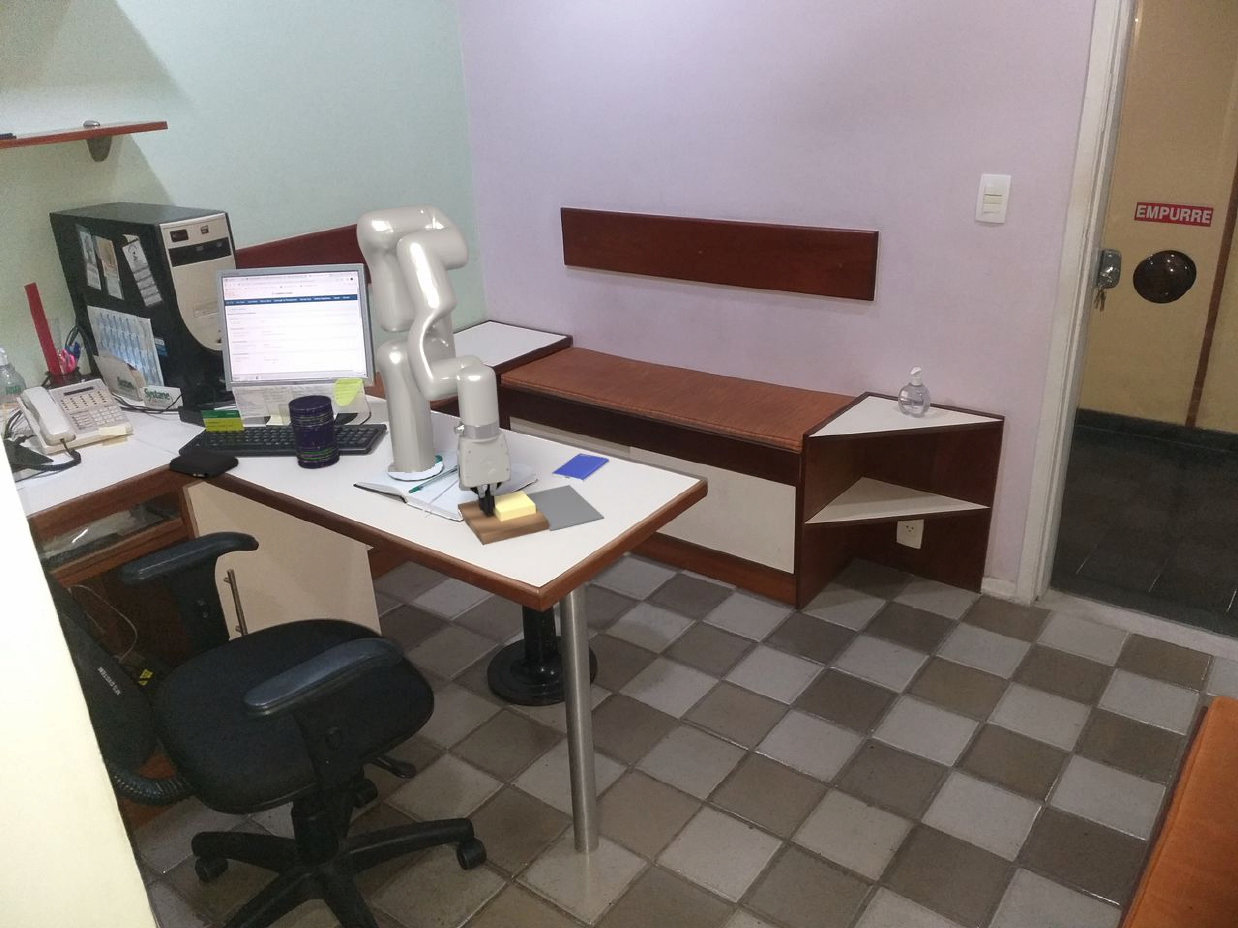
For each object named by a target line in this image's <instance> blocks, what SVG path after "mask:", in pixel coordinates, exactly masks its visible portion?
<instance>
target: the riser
mask: <svg viewBox="0 0 1238 928" xmlns="http://www.w3.org/2000/svg"><path fill="white" fill-rule="evenodd" d="M508 493H509V492H507V493H506V494H508ZM511 493H513V491H512V492H511ZM504 494H505V493H503V494H502V495H504ZM500 495H501V494H500ZM500 495H497V496H500ZM495 496H496V495H494V497H495ZM458 509H459V510H460V512H461V514H462V517H463V518H462V517H461V518H462V520H463V521H464V522H465V524H467V526H468V528H469V529H470V530H471V531H472V533H473V534H474V535H475V536H476V538H477V539H478V540H479V542H480V543H481V544H482V545H488V544H492V543H497V542H501V541H504V540H505V541H506V540H508V539H509V540H510V539H514V538H519V537H521V536H526V535H527V536H528V535H530V534H534V533H539V532H543V531H547V530H549V526H548V520H547V519H546V518H545V517H544V516H543V514H542V513H541V512H540V511H539V510H538V509H537V508H536V513H534V514H530V515H526V516H522V517H517V518H513V519H509V520H505V521H500V520H499V518H498V517H497V516H496V515H495V514H494V513H492V514H490V513H489V514H488V515H485V513H484V512H483V511H482V510H480V509H479V503H478V499H476V500H472V501H468V502H467V501H466V502H463V503H458V504H457V510H458Z"/></svg>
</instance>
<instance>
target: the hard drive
mask: <svg viewBox="0 0 1238 928" xmlns="http://www.w3.org/2000/svg"><path fill="white" fill-rule="evenodd" d="M609 463H610V459H609V458H607V457H601V456H597V455H596V456H595V455H590V454H585V453H578V454H576V455H575V456H573V457H572V458H571V459H569V460H567V462H565V463H564V464H562V465H561V466H560V467H558V468H557V469H556V470H554V471H552V472H551V477H554V478H559V479H564V480H569V481H574V482H579V483H582V484H583V483H584V482H586V480H588V479H590V478H591V477H592V476H594V475H595V474H596V473H597V472H599V471H600V470H602V469H603V468H604V467H605V466H606V465H608V464H609Z"/></svg>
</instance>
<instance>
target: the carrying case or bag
mask: <svg viewBox="0 0 1238 928" xmlns="http://www.w3.org/2000/svg"><path fill="white" fill-rule="evenodd" d="M239 462H240V461H239V459H238V458H237V457H236V456H234V455H231V454H227V453H224V452H223V453H222V452H216V451H211V450H207V449H202V448H201V449H200V448H196V449H192V450H190V451H187V452H184V453H183V454H181V455H178V456H176V457H174V458H172V460H170V462H169V463H168V468H169V469H170V470H171V471H175V472H178V473H183V474H187V475H192V476H193V477H195V478H196V477H197V478H198V477H202V478H207V479H214V478H217V477H219V476H220V475H222V474H225V473H227V472H229V471H231V470H233V469H235V468H236V467H237V466H238V464H239Z"/></svg>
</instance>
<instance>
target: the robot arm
mask: <svg viewBox="0 0 1238 928" xmlns="http://www.w3.org/2000/svg"><path fill="white" fill-rule="evenodd" d="M357 221H358V222H357V224H356V238H357V242H358V243H357V244H358V246H359V249H360V251H361V253H362V255H363V258H364V260H365V262H366V265H367V266H368V269H369V274H370V280H371V281H370V282H371V287H372V293H373V300H374V307H375V313H376V318H377V321H378V322H377V323H378V324H379V327H380V328H381V330H382V331H384V332H385V333H388V334H389V333H390V334H397V333H399V334H400V333H405V332H408V335H407V336H403V337H397V338H394V339H390V340H387V341H385V342H384V343H382V344H381V345H380V346H379V347H378V348H377V351H376V364H377V368H378V371H379V374H380V377H381V381H382V385H383V389H384V395H385V403H386V410H387V417H388V418H387V419H388V425H389V427H388V428H389V433H390V434H389V435H390V440H391V441H390V443H391V448H392V449H391V450H392V451H391V452H392V457H393V462H391V463H390V464H389V465H388V467H387V473H388V472H405V473H413V472H423V471H426V470H428V469H431V468H432V467H434V466H435V464H436V458H437V457H436V450H435V449H436V448H435V439H434V432H433V421H432V411H431V403H430V402H431V401H440V400H445V399H449V398H452V397H457V398H458V410H459V424H458V425H457V426H454V427H453V432H454V434H455V435H457V434H459V436H458V440H457V452H456V468H457V469H456V470H457V476H458V480H459V481H458V488H459V490H460V491H462V492H469V491H470V492H472V493H474V494H475V495H477V500H478V503H479V509H480V510H482V511H483V512H484V513H485V515H488V514H489V513H490V514H492V513H493V507H495V498H494V496H496V494H497V491H498V490H499V488H500V487H501V486H502V485H504V484H506V483H509V482H511V480H512V477H511V476H512V464H511V457H510V452H509V446H508V443H507V438H506V434H505V431H503V430H502V429H500V415H499V403H498V401H499V400H498V391H497V389H498V387H497V377H496V375H497V374H496V373H495V372H496V371H494V369H493V368H492V367H491V366H488V365H486V364H484V362H483V361H482V360H481V359H480V358H479V357H478V356H477V355H474V354H464V355H461V356H456V355H457V354H456V344H455V336H454V329H453V322H452V319H453V318H452V312H453V311H454V310H455V309H456V307H457V305H458V301H457V297H456V295H455V292H454V289H453V286H452V284H451V283H452V282H451V280H450V277H449V274H448V271H454V270H459V269H462V268H464V267H466V266H467V265H468V262H469V259H470V250H469V245H468V242H467V239H466V238H465V236H464V234H463V232H462V231H461V229H460V228H459V227H458V226H457V225H456V223H455V222H454V221H452V219H450V218H449V217H448V216H447V215H446V214H445V213H444V211H442V210H441V209H440V208H439V207H437V206H435V205H431V204H418V205H409V206H402V207H401V206H400V207H390V208H382V209H378V210H373V211H369V212H367V213H365V214H363V215H362V216H361V217H359V219H358V220H357ZM484 486H486V489H484Z"/></svg>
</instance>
